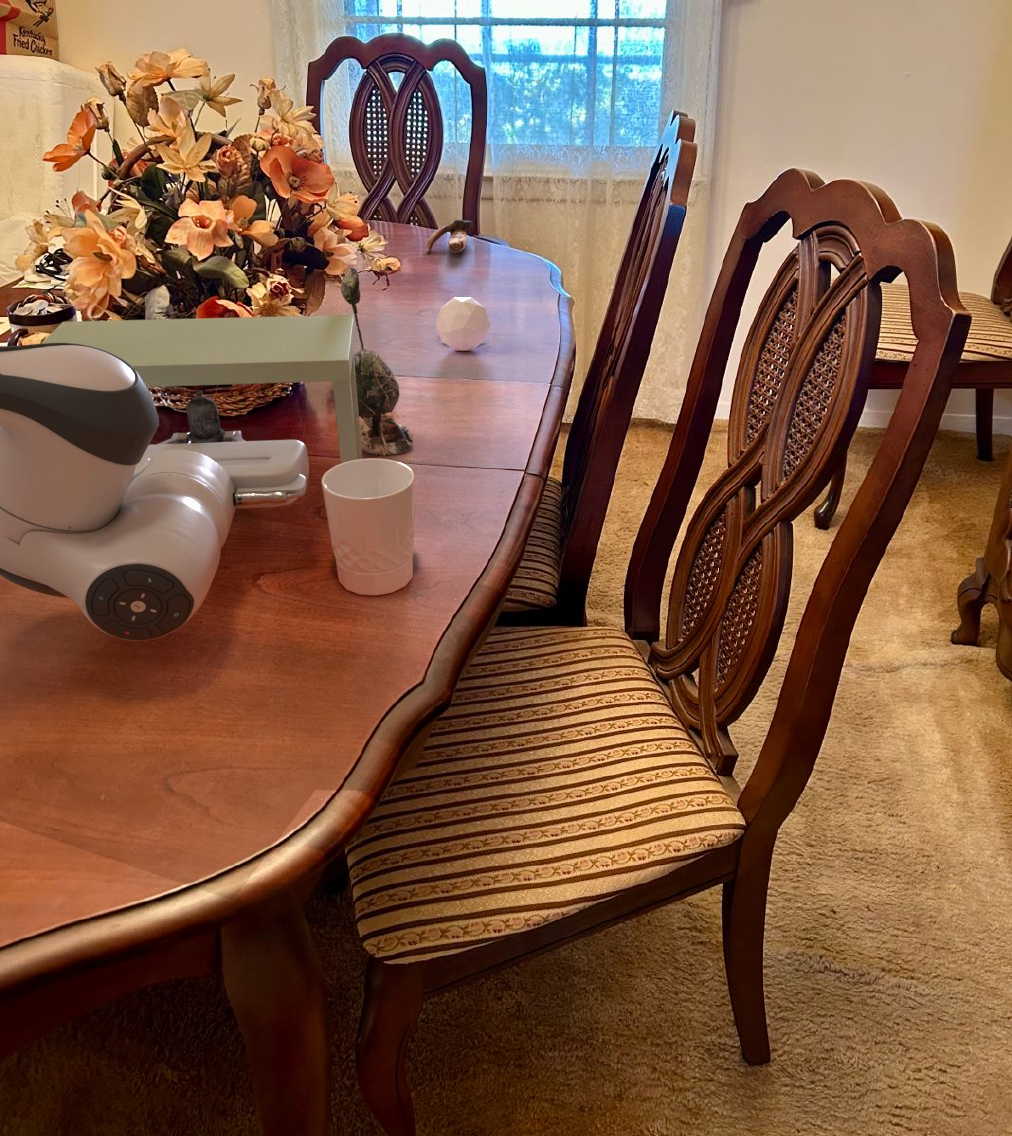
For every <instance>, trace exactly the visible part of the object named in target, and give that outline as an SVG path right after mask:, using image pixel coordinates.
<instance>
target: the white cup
mask: <svg viewBox="0 0 1012 1136" xmlns="http://www.w3.org/2000/svg"><path fill="white" fill-rule="evenodd" d="M415 477H416V476H415V473H414V471H413V470H412V468H410V467H409V466H408V465H406V464H404V463H402V462H400V461H397V460H393V459H387V458H374V457H373V458H371V457H370V458H369V457H367V458H362V459H358V460H352V461H348V462H344V463H341V464H340V463H339V464H337V465H334V466H333V467H331V468H329V469H328V470H327V471H325V473H324V474H323V475H322V478H321V487H322V494H323V499H324V507H325V512H326V519H327V520H326V521H327V527H328V531H329V536H330V542H331V548H332V552H333V554H334V558H335V564H336V570H337V578H338V582H339V583H340V584H341V586H342V587H344V588H345V590H347V591H349V592H352V593H355V594H357V595H361V596H382V595H386V594H392V593H395V592H397V591H398V590H401V589H402V588H404V587H406V586H407V585H408V584H409V582H410V581H411V580H412V579H413V577H414V573H413V572H414V571H413V570H414V568H413V566H414V565H413V564H414V563H413V556H414V555H413V554H414V553H413V552H414V549H415Z"/></svg>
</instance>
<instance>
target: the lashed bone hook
mask: <svg viewBox="0 0 1012 1136" xmlns="http://www.w3.org/2000/svg"><path fill="white" fill-rule="evenodd" d="M473 226H474V222H472V221H471V220H463V219H455V220H454V221H452V222H451V223H447V224H446V225H443V226H442V227H439V228H438V229H437V230H435V231H434V232H433V233H432V234H431V235H430V236H429V238H428V239H427V242H426V251H427V253H428V254H429V253H431V251H432V249H433V247H434V245H435V243H436V242H437V241H438V240H439V239H440V238H441V237H442V236H444V235H445V234H447V233H449V234H450V236H449V239H448V242H447V247H448V249H449V251H450V252H451V253H454V254H455V253H456V254H459V253H461V252H462V251H463V250H464V249H465V248H466V246H467V244H468V235H469V232H470V228H473Z"/></svg>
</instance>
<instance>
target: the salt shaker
mask: <svg viewBox="0 0 1012 1136" xmlns="http://www.w3.org/2000/svg"><path fill="white" fill-rule="evenodd" d="M195 395H196V396H195V397H194V398H191V400H189V401H188V402H187V404H186V405H185V411H186V416H187V417H186V418H187V423H188V427H189V432H187V433H188V435H187V439H188V440H190V441H191V443H213V442H224V440H223V436H224V434H225V430H224V429H222V428H221V424H220V423H221V422H220V417H219V411H218V405H217V403H216V401H214V400H213V399H212V398H210V397H207V396H203V391H202V390H200V389H199V388H198V389H197V390H196V392H195Z"/></svg>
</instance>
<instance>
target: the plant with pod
mask: <svg viewBox="0 0 1012 1136" xmlns="http://www.w3.org/2000/svg"><path fill="white" fill-rule="evenodd" d="M340 292H341V295H342V297H343V298H344V300H345V301H346V302H347V303H348V305H351V307H352V311H353V315H354V322H355V325H356V327H357V332H358V338H359V342H360V348H361V349H359V351H358V352H355V353H354V362H355V375H356V387H357V399H358V411H359V418H361V423H360V435H361V447H362V453H365V454H367V455H371V456H378V457H380V456H381V457H385V456H386V455H389V457H390V456H392V455H395V454H396V455H399V454H403V452H405V453H406V452H407V451H409V450H411V449H412V448H413V446H414V444H413V440H414V438H413V436H414V434H411V433H409V429H407V426H406V425H403V424H402V423H398V422H397V421H396V419H395V418H394V416H393V415H392V414H391V413H392V412H393V411H394V410H395V407H396V406H397V404H398V401H399V398H400V384H399V382H398V380H397V378H396V377H395V375H394V373H393V371H392V369H391V368H390V367H389V366H388V363H386V361H384V360H383V358H382V357H381V356H380V355H379V353H377V352H376V351H375V350H370V351H369V350H368V349H365V347H364V341H363V337H362V332H361V328H360V324H359V319H358V307H357V304H359V302H360V301H361V290H360V278H359V274H358V270H357V269H356V268H355V267H348V268H347V271H346V272H345V274H344V276H343V278H342V281H341V283H340Z"/></svg>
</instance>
